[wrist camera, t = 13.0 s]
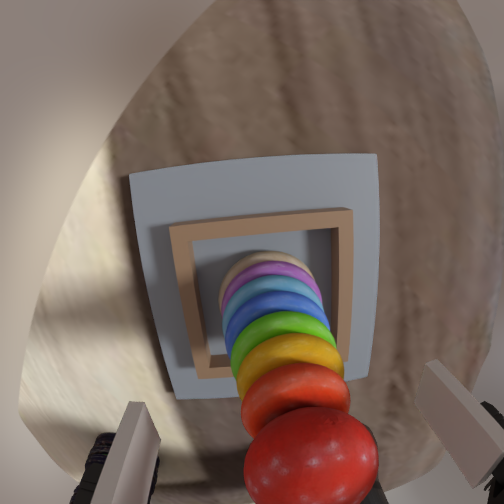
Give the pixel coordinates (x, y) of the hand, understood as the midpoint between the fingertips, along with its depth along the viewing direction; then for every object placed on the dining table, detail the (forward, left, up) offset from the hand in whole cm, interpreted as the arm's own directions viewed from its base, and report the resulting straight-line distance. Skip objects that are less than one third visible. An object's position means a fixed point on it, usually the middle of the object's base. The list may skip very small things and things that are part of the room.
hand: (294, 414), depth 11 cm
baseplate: (0, 0, -14) cm, 14 cm away
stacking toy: (0, 0, -13) cm, 13 cm away
